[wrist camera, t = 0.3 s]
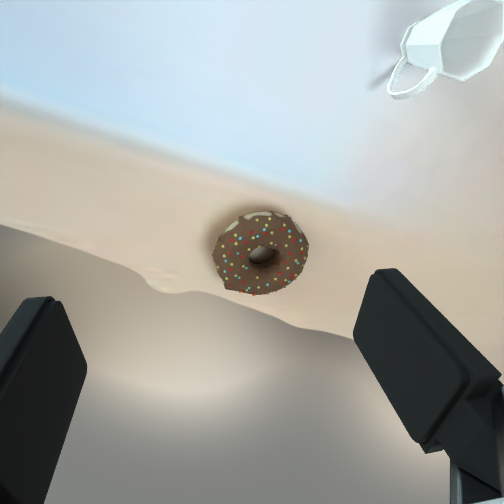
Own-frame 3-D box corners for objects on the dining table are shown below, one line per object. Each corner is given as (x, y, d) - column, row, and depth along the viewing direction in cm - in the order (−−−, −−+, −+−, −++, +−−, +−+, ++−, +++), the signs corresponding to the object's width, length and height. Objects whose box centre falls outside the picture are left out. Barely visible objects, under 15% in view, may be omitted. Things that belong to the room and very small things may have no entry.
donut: (267, 185, 40) (276, 200, 36) (317, 247, 47) (329, 265, 43) (190, 248, 43) (190, 267, 39) (247, 297, 50) (252, 318, 46)
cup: (457, 37, 34) (522, 31, 28) (391, 112, 38) (434, 124, 31) (427, -15, 31) (492, -35, 24) (357, 72, 34) (397, 76, 28)
